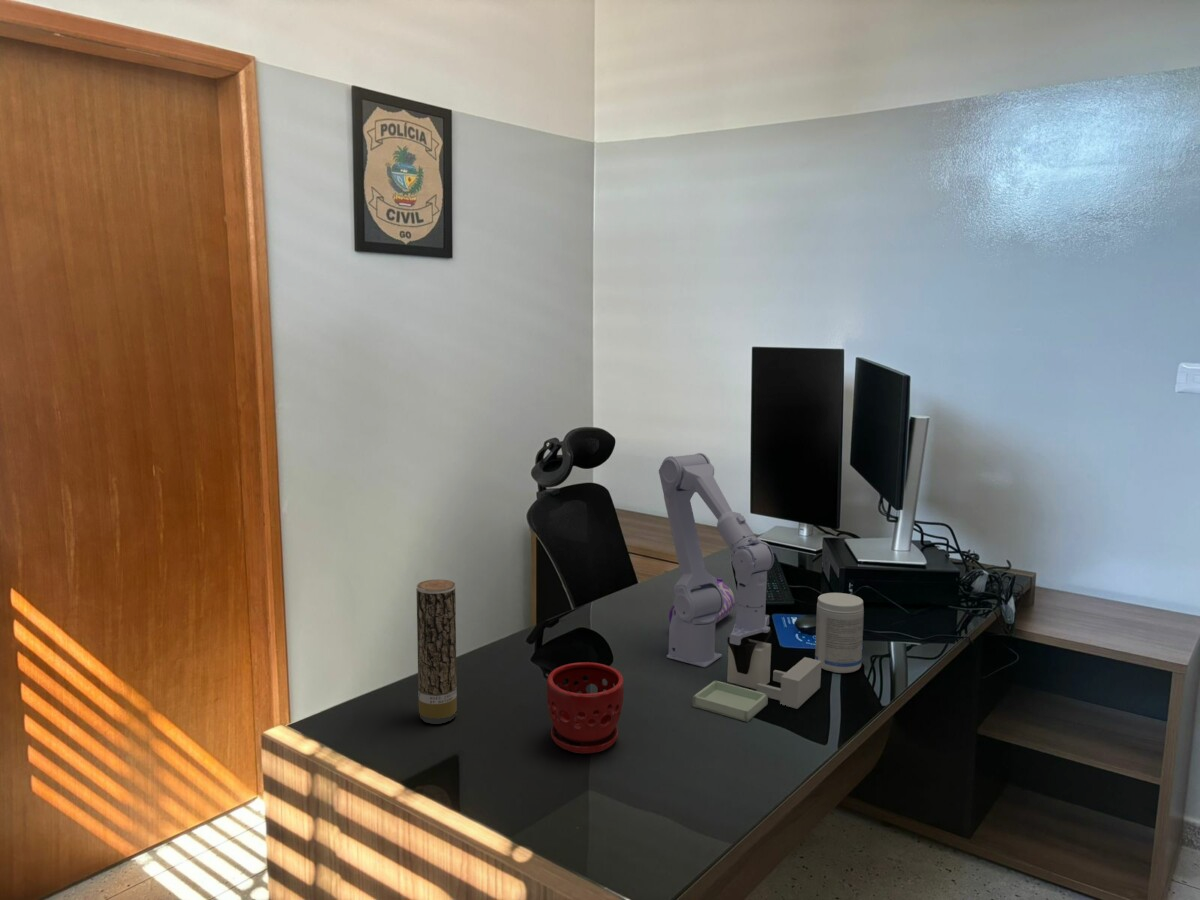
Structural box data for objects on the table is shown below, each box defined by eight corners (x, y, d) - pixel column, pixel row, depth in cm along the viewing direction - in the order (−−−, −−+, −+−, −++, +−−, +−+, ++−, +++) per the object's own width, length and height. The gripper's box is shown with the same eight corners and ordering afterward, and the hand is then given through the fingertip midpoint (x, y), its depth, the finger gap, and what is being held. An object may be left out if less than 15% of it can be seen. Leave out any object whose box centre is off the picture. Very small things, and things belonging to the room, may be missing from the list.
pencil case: (702, 609, 222) (704, 573, 220) (737, 616, 217) (739, 579, 216) (665, 636, 203) (666, 597, 201) (702, 644, 198) (703, 604, 197)
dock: (753, 696, 171) (754, 669, 170) (777, 676, 181) (778, 651, 180) (797, 708, 166) (798, 681, 165) (820, 687, 176) (821, 661, 175)
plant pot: (532, 738, 153) (532, 672, 151) (592, 718, 161) (593, 655, 159) (576, 769, 143) (576, 699, 141) (638, 746, 150) (639, 679, 149)
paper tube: (463, 713, 162) (462, 581, 158) (445, 729, 156) (443, 592, 152) (430, 707, 164) (428, 577, 161) (411, 722, 158) (409, 588, 154)
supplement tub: (870, 668, 185) (874, 601, 183) (839, 678, 180) (843, 609, 178) (835, 653, 193) (838, 589, 191) (804, 662, 188) (807, 596, 186)
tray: (692, 706, 166) (692, 696, 166) (714, 689, 174) (715, 680, 173) (747, 722, 160) (747, 711, 160) (767, 704, 168) (768, 694, 167)
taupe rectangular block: (724, 681, 178) (725, 643, 177) (735, 673, 182) (736, 636, 181) (759, 690, 174) (761, 651, 173) (769, 681, 178) (771, 643, 177)
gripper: (754, 617, 167) (751, 685, 169) (784, 597, 179) (781, 661, 181) (720, 609, 171) (718, 676, 173) (752, 591, 183) (749, 653, 185)
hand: (748, 668), depth 177 cm, fingers closed on taupe rectangular block, 5 cm apart
